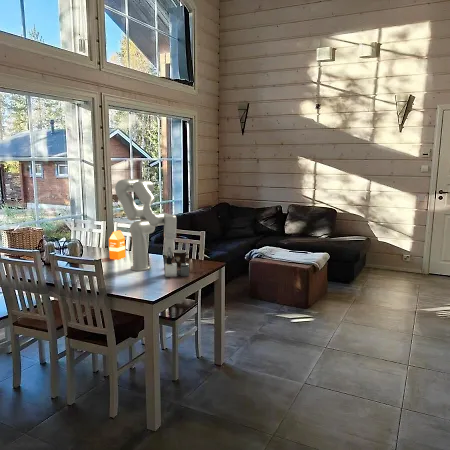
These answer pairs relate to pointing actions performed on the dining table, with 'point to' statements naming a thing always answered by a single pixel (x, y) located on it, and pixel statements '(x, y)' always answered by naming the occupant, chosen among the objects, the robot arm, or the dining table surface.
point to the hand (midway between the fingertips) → (169, 261)
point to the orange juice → (117, 245)
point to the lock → (170, 269)
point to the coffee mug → (180, 257)
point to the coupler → (184, 270)
